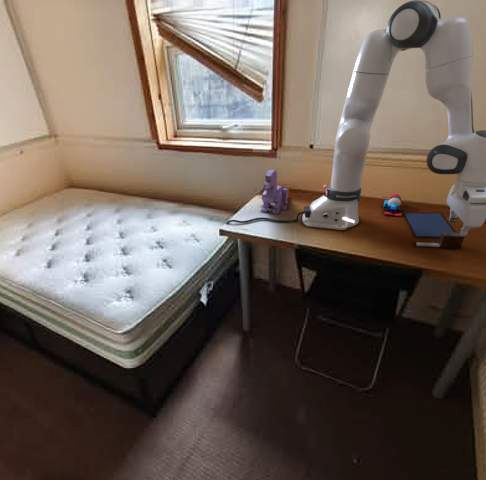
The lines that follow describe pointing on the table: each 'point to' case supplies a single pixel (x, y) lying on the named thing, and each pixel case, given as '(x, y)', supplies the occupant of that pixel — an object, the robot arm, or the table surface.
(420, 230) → the desk mat
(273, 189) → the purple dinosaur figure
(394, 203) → the toy figure
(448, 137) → the robot arm
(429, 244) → the letter opener
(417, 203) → the table surface
